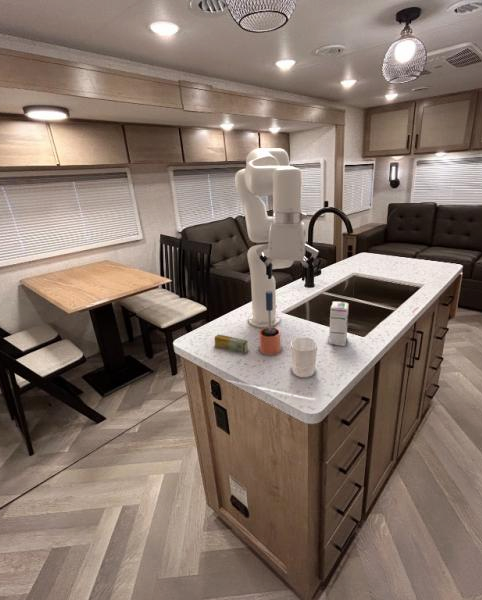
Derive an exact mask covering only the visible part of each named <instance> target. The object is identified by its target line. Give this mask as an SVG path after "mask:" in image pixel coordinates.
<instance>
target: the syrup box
mask: <svg viewBox="0 0 482 600" xmlns="http://www.w3.org/2000/svg"><path fill="white" fill-rule="evenodd" d="M349 305H350V304H349V302H346V301H332V303H331V305H330V308H329V310H330V311H329V312H330V313H329V336H328V344H332V345H333V346H340V347H345V346H346V342H347V336H348V324H349V323H348V322H349Z"/></svg>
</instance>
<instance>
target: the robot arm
mask: <svg viewBox="0 0 482 600" xmlns="http://www.w3.org/2000/svg"><path fill="white" fill-rule="evenodd" d="M245 163H246V166H245V168H242V169H239V170H238V171H237V172H236V173H235V176H234V186H235V191H236V194H237V197H238V199H239V202H240V203H241V205H242V208H243V211H244V218H245V225H246V230H247V231H246V232H247V235H248V238H249V241H251V242H252V243H262V244H255V245H253V246H251V247H249V248H248V250H247V254H246V257H247V262H248V263H247V264H248V269H249V273H250V275H249V276H250V289H251V290H250V291H251V309H252V310H251V311H252V315H250V316H249V318H248V322H249V323H250V325H252V326H254V327H257V328H267V327H269V318H268V310H266V292H267V291H272V292H273V310H271V327H275V326H276V325H278V324H279V323H280V322H281V321H280V320H281V318H280V316H279V314H277V308H278V305H277V303H276V301H277V298H276V296H277V295H276V293H277V291H276V288H277V287H276V279H275V277H274V275H273V270H276V269H286V268H290V267H292V266H293V264H294V261H295V262H296V261H297V262H300V263H301V264H302V267H301V281H302V282H305V279H306V278H308V273H309V271H308V269H309V266H310V265H312V263H314V261H316V258H317V257H318V255H319V250H318V249H316V248H314V247H313V246H311V245H309V244H307V238H306V237H307V236H306V235H307V234H306V225H305V222H303V220H308V214H307V213H305V212H303V210H302V209H303V208H302V207H303V206H302V203H303V172H302V170H301V169H300V168H299V167H295V166H292V165H290V157H289V154H288V152H287V151H286V150H285V149H283V148H256V149H253V150H250V151H249V153H248V154H247V155H246V160H245ZM263 196H264V197H267V196H272V216H270V215H268V211H267V206H266V204H265V202H264V201H263V200H262V198H260V197H263ZM263 243H264V244H263ZM307 252H309V253H310V254H311V256H310V257H309V258H307V257H306V253H307Z"/></svg>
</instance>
